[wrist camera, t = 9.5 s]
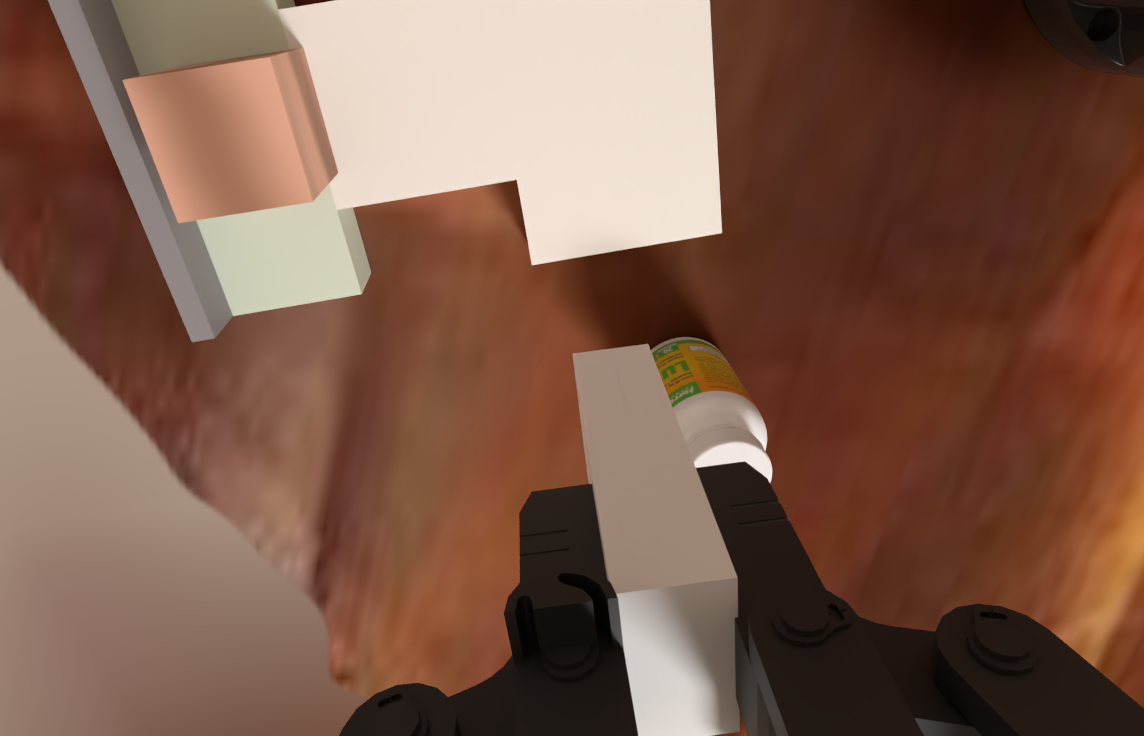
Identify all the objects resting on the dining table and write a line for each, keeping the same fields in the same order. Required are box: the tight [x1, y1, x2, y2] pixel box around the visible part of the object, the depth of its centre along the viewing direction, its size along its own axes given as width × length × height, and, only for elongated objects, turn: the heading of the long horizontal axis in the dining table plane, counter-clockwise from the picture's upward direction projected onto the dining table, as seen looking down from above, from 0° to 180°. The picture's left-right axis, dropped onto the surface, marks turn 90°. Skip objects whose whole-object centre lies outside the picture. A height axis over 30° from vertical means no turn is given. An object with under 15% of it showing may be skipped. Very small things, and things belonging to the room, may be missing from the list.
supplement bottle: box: [651, 337, 772, 483], centre depth 37 cm, size 5×5×10 cm
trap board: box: [48, 0, 722, 342], centre depth 31 cm, size 24×16×6 cm, turn 98°
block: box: [123, 48, 338, 223], centre depth 29 cm, size 5×5×5 cm
